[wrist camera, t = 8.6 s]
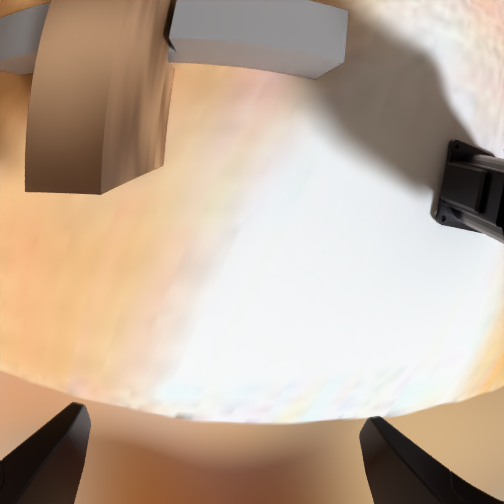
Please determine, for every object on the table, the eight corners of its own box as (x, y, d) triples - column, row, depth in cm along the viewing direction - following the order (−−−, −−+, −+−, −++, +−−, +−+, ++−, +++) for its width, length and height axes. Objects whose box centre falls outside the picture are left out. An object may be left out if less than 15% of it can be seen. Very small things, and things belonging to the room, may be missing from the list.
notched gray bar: (320, 37, 16) (348, 10, 11) (315, 79, 17) (344, 62, 12) (29, 37, 13) (-10, 21, 9) (21, 75, 14) (-22, 67, 10)
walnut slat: (163, 165, 18) (100, 194, 8) (117, 163, 17) (25, 191, 8) (201, -54, 12) (191, -148, 3) (157, -53, 12) (124, -140, 3)
